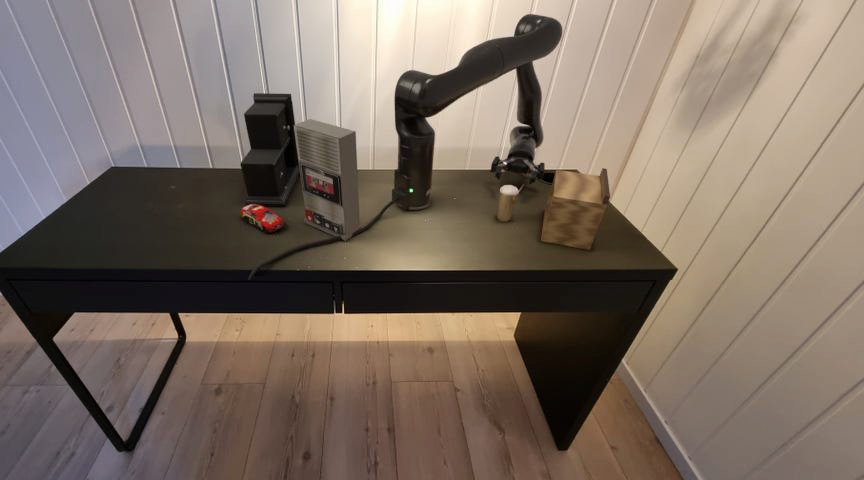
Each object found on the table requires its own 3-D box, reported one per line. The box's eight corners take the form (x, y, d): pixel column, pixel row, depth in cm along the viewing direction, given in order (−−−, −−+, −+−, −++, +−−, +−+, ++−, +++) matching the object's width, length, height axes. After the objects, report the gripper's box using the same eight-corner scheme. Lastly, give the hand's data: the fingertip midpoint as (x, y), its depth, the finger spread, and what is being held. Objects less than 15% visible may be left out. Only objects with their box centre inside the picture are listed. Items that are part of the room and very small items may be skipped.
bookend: (285, 207, 111) (270, 120, 97) (245, 206, 112) (225, 119, 97) (302, 170, 130) (291, 93, 115) (268, 170, 130) (254, 92, 115)
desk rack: (540, 241, 98) (555, 188, 90) (544, 211, 109) (558, 162, 101) (589, 250, 95) (610, 196, 86) (588, 219, 106) (606, 168, 97)
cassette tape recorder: (304, 223, 104) (290, 125, 89) (320, 214, 108) (310, 118, 93) (344, 242, 98) (336, 139, 82) (360, 231, 102) (356, 131, 86)
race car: (288, 228, 103) (285, 214, 100) (270, 237, 100) (267, 223, 97) (257, 210, 110) (254, 197, 107) (239, 218, 106) (236, 205, 104)
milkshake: (516, 224, 104) (524, 188, 98) (494, 222, 105) (501, 186, 99) (515, 215, 108) (523, 180, 101) (494, 213, 108) (501, 178, 102)
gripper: (499, 140, 121) (490, 161, 109) (549, 146, 117) (545, 169, 105) (494, 164, 126) (486, 186, 114) (542, 171, 122) (539, 195, 110)
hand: (514, 178), depth 110 cm, fingers open, 8 cm apart
